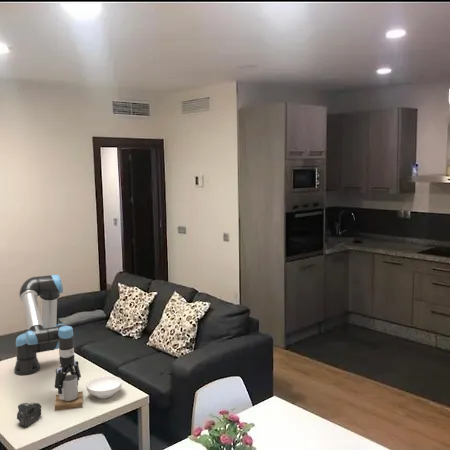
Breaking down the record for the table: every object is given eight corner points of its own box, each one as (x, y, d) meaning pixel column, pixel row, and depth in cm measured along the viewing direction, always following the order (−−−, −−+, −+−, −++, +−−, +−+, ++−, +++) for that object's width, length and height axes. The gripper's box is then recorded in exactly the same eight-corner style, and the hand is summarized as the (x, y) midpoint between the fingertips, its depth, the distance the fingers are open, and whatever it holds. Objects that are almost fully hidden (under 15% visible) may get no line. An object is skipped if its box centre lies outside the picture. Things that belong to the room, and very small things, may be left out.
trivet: (56, 399, 266) (56, 394, 266) (82, 395, 270) (82, 391, 270) (54, 411, 253) (54, 406, 252) (82, 407, 256) (82, 402, 256)
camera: (23, 415, 249) (22, 396, 248) (43, 414, 249) (42, 396, 248) (13, 429, 236) (12, 409, 234) (34, 428, 236) (33, 409, 235)
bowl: (129, 390, 276) (128, 378, 275) (110, 405, 258) (109, 393, 257) (99, 385, 283) (99, 373, 282) (79, 400, 264) (78, 388, 263)
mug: (78, 399, 258) (77, 379, 256) (62, 402, 255) (60, 382, 253) (77, 389, 269) (76, 370, 267) (61, 392, 266) (60, 373, 264)
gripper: (55, 363, 247) (57, 405, 250) (86, 349, 266) (88, 388, 268) (45, 361, 251) (47, 402, 253) (77, 347, 269) (78, 385, 272)
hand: (68, 395), depth 261 cm, fingers closed on mug, 9 cm apart
